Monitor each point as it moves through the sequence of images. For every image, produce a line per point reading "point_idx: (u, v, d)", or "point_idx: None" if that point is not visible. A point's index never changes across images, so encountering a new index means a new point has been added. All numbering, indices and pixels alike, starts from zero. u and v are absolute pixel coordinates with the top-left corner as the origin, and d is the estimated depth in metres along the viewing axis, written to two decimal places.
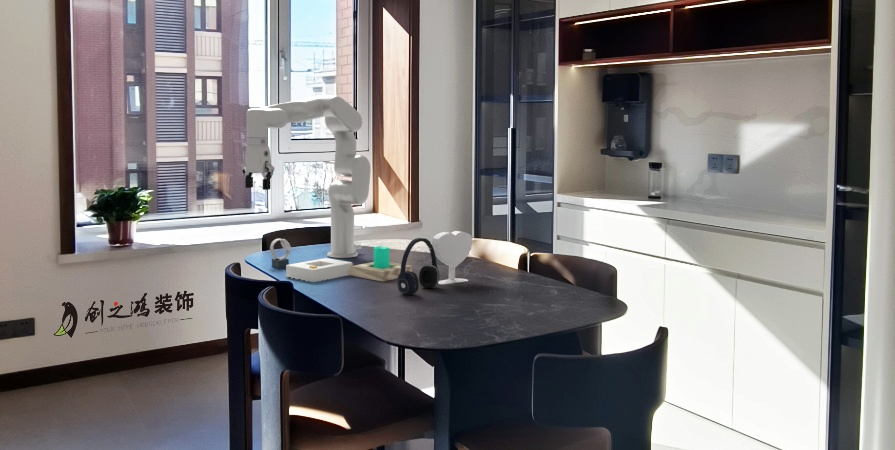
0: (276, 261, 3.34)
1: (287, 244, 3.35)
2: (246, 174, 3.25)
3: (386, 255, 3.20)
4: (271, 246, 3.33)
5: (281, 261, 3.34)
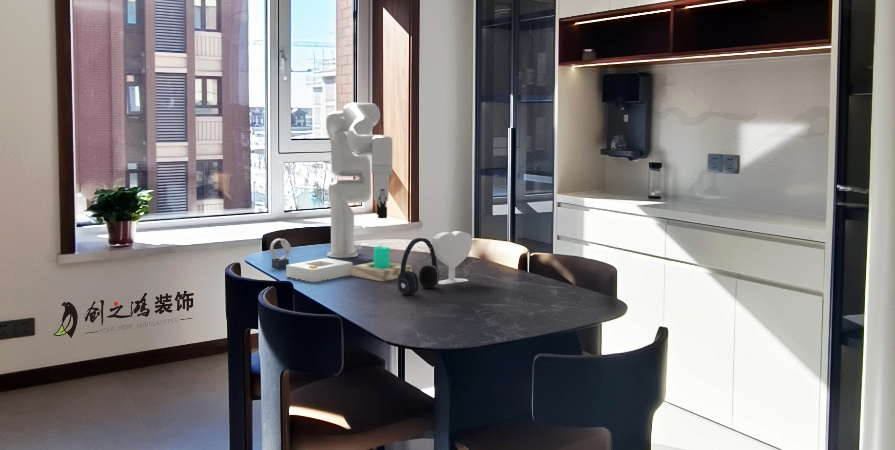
0: (276, 261, 3.34)
1: (287, 244, 3.35)
2: None
3: (386, 255, 3.20)
4: (271, 246, 3.33)
5: (281, 261, 3.34)
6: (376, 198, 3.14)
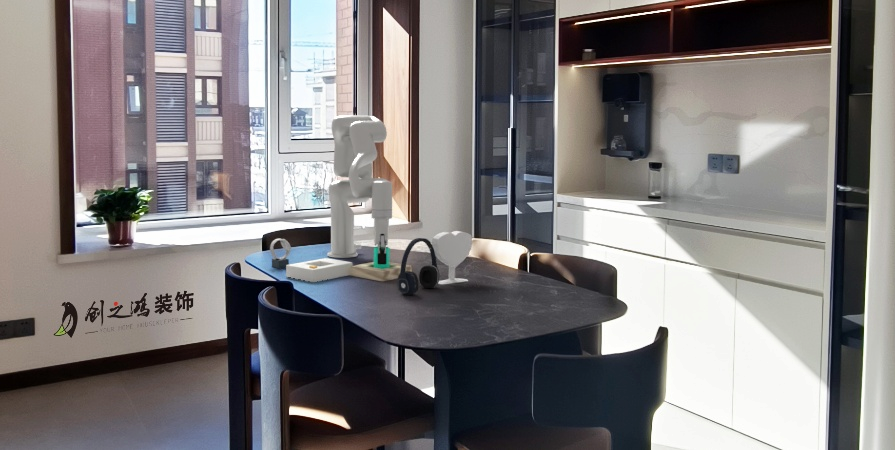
0: (276, 261, 3.34)
1: (287, 244, 3.35)
2: (385, 249, 3.19)
3: (386, 255, 3.20)
4: (271, 246, 3.33)
5: (281, 261, 3.34)
6: (376, 242, 3.16)
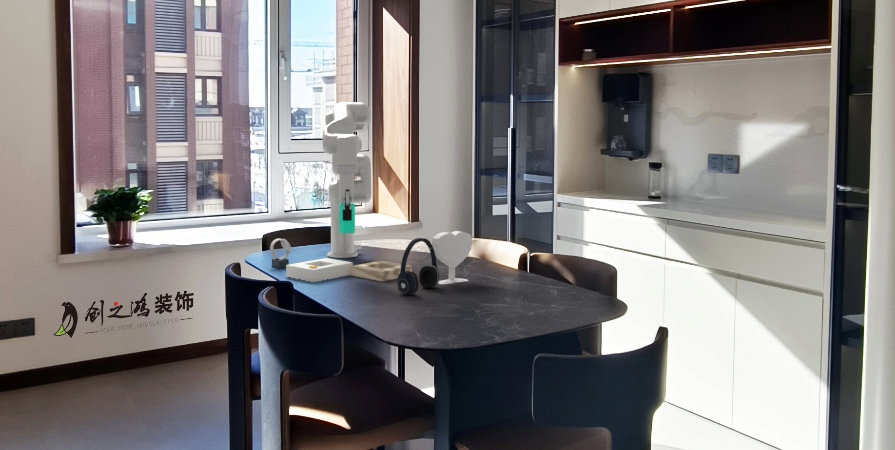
0: (276, 261, 3.34)
1: (287, 244, 3.35)
2: None
3: None
4: (271, 246, 3.33)
5: (281, 261, 3.34)
6: (341, 198, 3.13)
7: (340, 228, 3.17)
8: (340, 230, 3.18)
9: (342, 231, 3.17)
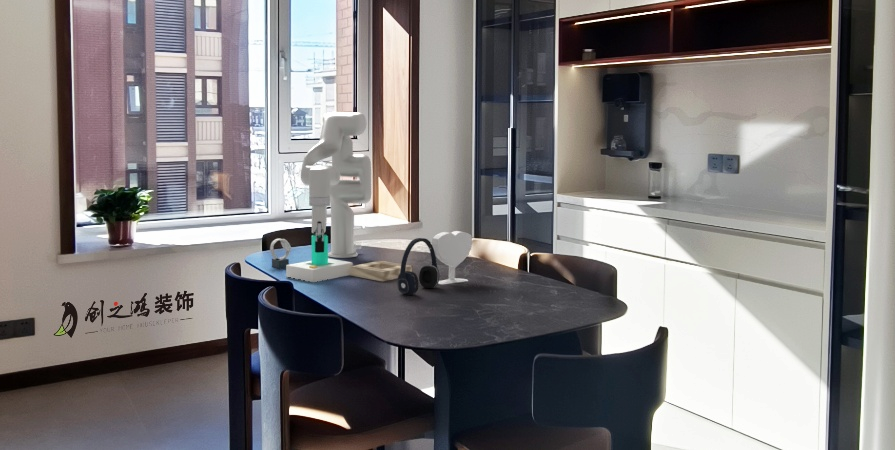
0: (276, 261, 3.34)
1: (287, 244, 3.35)
2: None
3: (324, 243, 3.17)
4: (271, 246, 3.33)
5: (281, 261, 3.34)
6: (313, 230, 3.13)
7: (313, 260, 3.18)
8: (313, 262, 3.18)
9: (314, 263, 3.17)
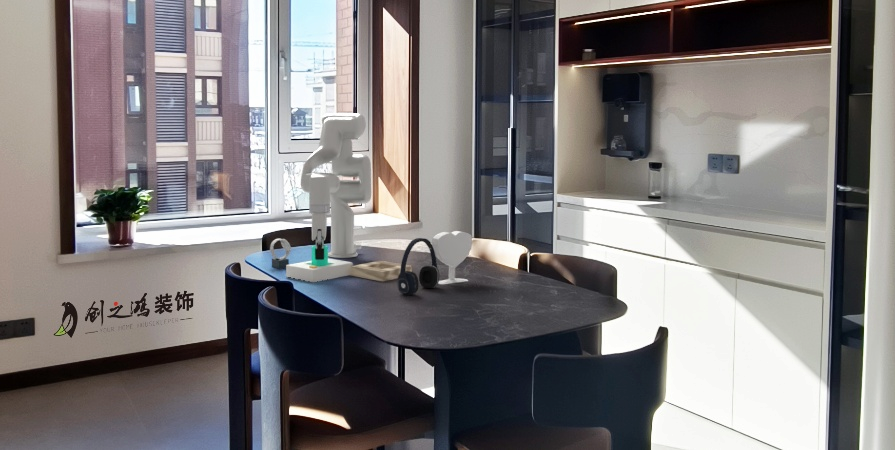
0: (276, 261, 3.34)
1: (287, 244, 3.35)
2: (323, 244, 3.16)
3: (324, 254, 3.17)
4: (271, 246, 3.33)
5: (281, 261, 3.34)
6: (313, 238, 3.14)
7: None
8: None
9: None
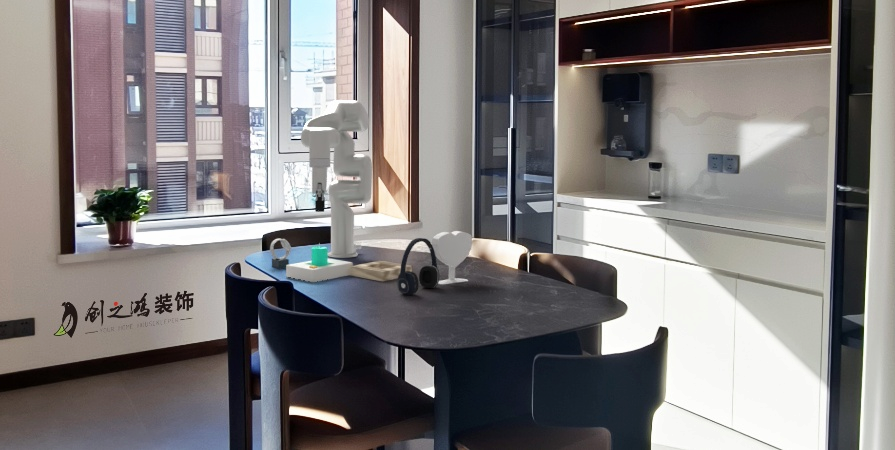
0: (276, 261, 3.34)
1: (287, 244, 3.35)
2: (323, 197, 3.14)
3: (324, 255, 3.18)
4: (271, 246, 3.33)
5: (281, 261, 3.34)
6: (313, 191, 3.13)
7: None
8: None
9: None
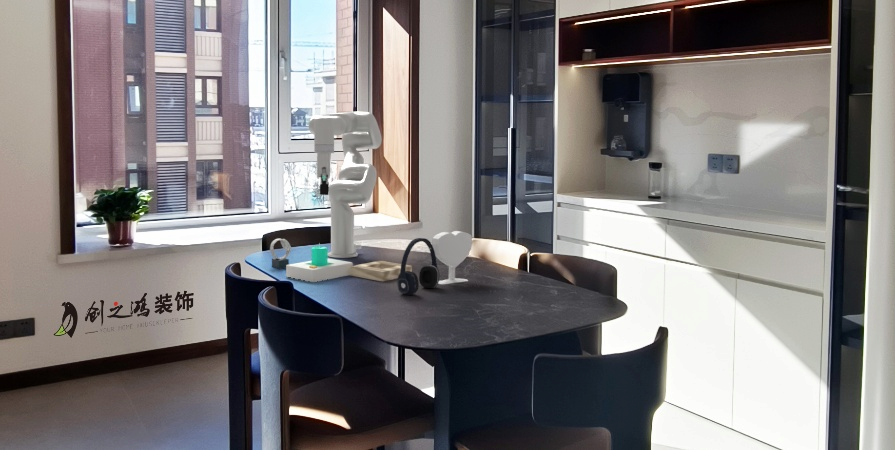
0: (276, 261, 3.34)
1: (287, 244, 3.35)
2: (327, 181, 3.33)
3: (324, 255, 3.18)
4: (271, 246, 3.33)
5: (281, 261, 3.34)
6: (318, 176, 3.32)
7: None
8: None
9: None
